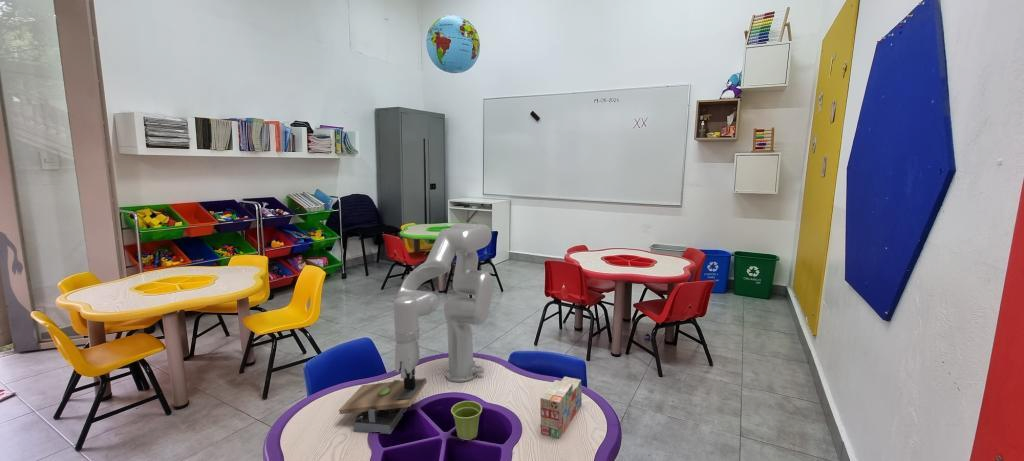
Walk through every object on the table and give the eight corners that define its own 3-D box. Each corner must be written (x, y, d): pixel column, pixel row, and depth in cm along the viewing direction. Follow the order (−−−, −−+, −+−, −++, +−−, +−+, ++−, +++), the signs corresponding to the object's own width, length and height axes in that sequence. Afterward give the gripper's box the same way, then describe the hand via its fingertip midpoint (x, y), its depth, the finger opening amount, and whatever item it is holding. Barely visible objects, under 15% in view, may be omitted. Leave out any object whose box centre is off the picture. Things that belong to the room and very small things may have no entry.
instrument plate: (427, 384, 155) (425, 375, 154) (410, 409, 139) (408, 399, 139) (364, 391, 159) (361, 382, 158) (340, 417, 143) (338, 407, 143)
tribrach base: (414, 398, 159) (413, 380, 158) (390, 434, 139) (388, 413, 138) (382, 396, 161) (381, 378, 160) (354, 431, 140) (352, 410, 139)
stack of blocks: (564, 400, 156) (564, 367, 154) (581, 405, 153) (582, 371, 151) (540, 434, 137) (540, 397, 135) (559, 439, 135) (559, 401, 133)
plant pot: (484, 426, 142) (483, 400, 141) (481, 444, 133) (480, 417, 131) (454, 426, 142) (453, 400, 141) (449, 444, 133) (448, 417, 132)
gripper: (404, 326, 152) (407, 377, 155) (386, 343, 137) (389, 399, 140) (426, 327, 151) (428, 378, 153) (409, 344, 136) (412, 401, 139)
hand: (409, 388), depth 147 cm, fingers closed
